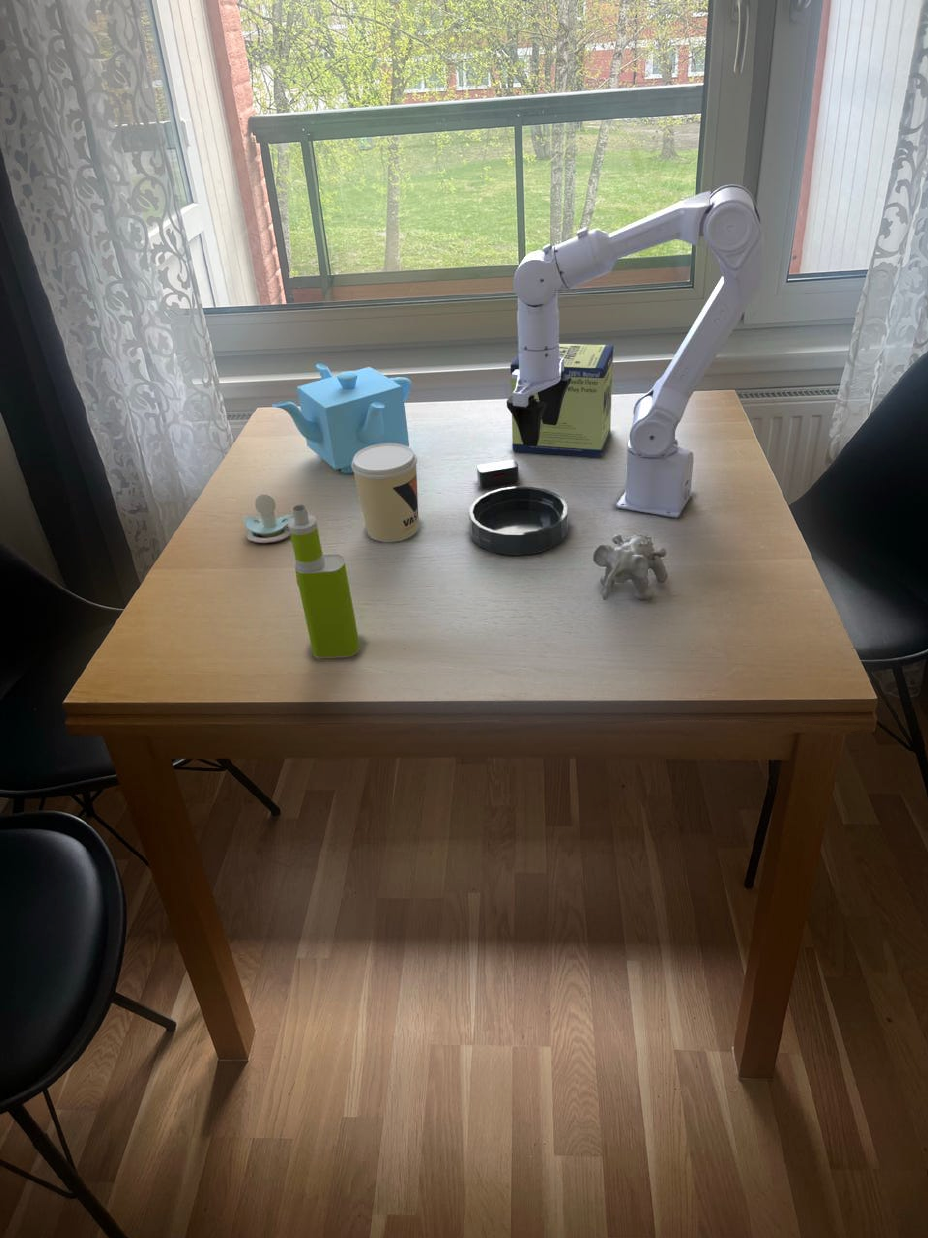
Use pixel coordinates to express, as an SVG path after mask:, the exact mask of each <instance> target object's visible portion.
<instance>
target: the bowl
mask: <svg viewBox="0 0 928 1238" xmlns="http://www.w3.org/2000/svg"><path fill="white" fill-rule="evenodd" d="M468 522H469V532H470V536H471V538H472V539H471V540H472V541H474V543H476V544H477V545H478V546H479V547H481V548H482V549H484V550H486V551H489V552H491V553H495V554H500V555H505V556H525V555H532V554H538V553H542V552H544V551H548V550H550V549H552V548H554V547H555V546H557V545H558V544H561V542H562V541H563V540H564V539H565V537H566V536H567V535H568V529H569V506H568V504H567V502H566V500H565V499H564V498H563V497H562V496H560V495H559V494H557V493H556V492H553V491H551V490H548V489H546V488H543V487H542V488H541V487H535V486H525V485H524V486H523V485H521V486H515V485H514V486H507V487H500V488H498V489H494V490H492V491H488V492H486V493H485V494H482V495H480V496H479V497H477V498H476V499H475V500H474V501H473V503H471V504H470V507H469V511H468Z"/></svg>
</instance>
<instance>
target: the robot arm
mask: <svg viewBox="0 0 928 1238" xmlns="http://www.w3.org/2000/svg"><path fill="white" fill-rule="evenodd" d="M701 237H703V238H704V241H705V243H706V245H707V246H708V248H709V250H710V251H711V252H712V253H713V254H714V256H715V257H716V258H717V260H718V264H719V268H720V271H721V275H722V276H721V277H720V279H719V281H718V282H717V285H716V286H715V288H714V290H713V291H712V293H711V294H710V296H709V298H708V299H707V301H706V302H705V304H704V305H703V307H702V309H701V310H700V312H699V315H698V316H697V318H696V319H695V321H694V323H693V324H692V326H691V328H690V330H689V331H688V333H687V334H686V336H685V337H684V340H683V341H682V343H681V344H680V346H679V348H678V349H677V351H676V353H675V355H674V356H673V358H672V359H671V361H670V362H669V365H668V366H667V368H666V370H665V371H664V373H663V374H662V376H661V377H660V378H658V379H657V380H656V381H655V383H654V385H653V386H652V388H650V390H649V391H648V392H646V393H644V394H643V395H642V396H640V397H639V398H638V400H636V403H635V404H634V407H633V419H632V423H631V428H630V431H629V437H628V438H629V440H628V441H627V450H626V472H625V473H626V475H625V491H624V493H623V494H622V496H621V497H620V498H619V499H618V501H617V502H616V505H615V507H616V508H618V509H623V510H629V511H635V512H640V513H644V514H645V513H646V514H652V515H658V516H664V517H668V518H669V517H670V518H679V517H680V515H681V513H682V511H683V509H684V508H685V507H686V504H687V503H688V501H689V499H690V498H691V496H692V481H693V470H694V451H691V450H688V449H686V448H682V446H679V444H678V443H679V442H678V440H677V439H676V431H677V429H678V426H679V424H680V422H681V421H682V419H683V416H684V414H685V411H686V409H687V406H688V404H689V401H690V399H691V397H692V396H693V394H694V393H695V391H696V389H697V387H698V386H699V385H700V383H701V382H702V380H703V378H704V377H705V375H706V373H707V372H708V370H709V368H710V367H711V365H712V364H713V362H714V361H715V359H716V357H717V356H718V355H719V353H720V351H721V350H722V348H723V347H724V345H725V343H726V342H727V340H728V339H729V337H730V336H731V334H732V332H733V331H734V329H735V327H736V326H737V324H738V323H739V321H740V319H741V318H742V316H743V315H744V313H745V312H746V310H747V309H748V307H749V305H750V303H751V302H752V301H753V299H754V297H755V296H756V295H757V293H758V291H759V289H760V288H761V286H762V284H763V282H764V278H765V277H764V276H765V275H764V267H765V266H764V231H763V229H762V220H761V214H760V212H759V210H758V207H757V204H756V202H755V199H754V196H753V194H752V193H751V192H750V190H749V189H747V188H746V187H744V186H742V185H740V184H733V183H732V184H725V185H722V186H720V187H719V188H717V189H716V190H714V191H713V192H711V190H707V191H704V192H700V193H697V194H695V195H692V196H691V197H689V198H686V199H683V200H681V201H679V202H676V203H674V204H672V205H670V206H668V207H666V208H664V209H661V210H659V211H657V212H655V213H653V214H651V215H648V216H646V217H644V218H642V219H639V220H637V221H636V222H633V223H630V224H628V225H627V226H624V227H622V228H620V229H618V230H616V231H613V232H611V233H608V232H606V231H603V230H601V229H598V228H594V229H592V230H588V228H587V227H583V228H581V229H579V230H577V232H576V236H575V237H573V238H570V239H568V240H566V241H563V242H561V243H559V244H555V245H553V246H552V244H551V243H548V244H546V245H544V246H543V247H542V250H535V251H532V252H530V253H528V254H526V256H524V258H523V259H522V261H521V263H520V264H519V266H518V267H517V269H516V271H515V273H514V276H513V280H512V286H513V292H514V293H515V295H516V297H517V313H516V316H517V347H518V348H517V349H518V353H519V370H515V371H514V372H513V373H512V378H513V379H517V384H516V389H515V391H514V392H513V396H511V395H510V397H509V398H507V400H506V408H507V409H508V411H509V412H510V413H511V416H512V415H513V417H514V419H515V421H516V423H517V426H518V429H519V432H520V436H521V439H522V442H523V445H528V446H537V445H538V441H539V435H540V425H541V420H542V422H543V424H548V425H556V424H557V422H558V419H559V414H560V410H561V405H562V401H563V398H564V395H565V392H566V390H567V387H568V385H569V384H570V382H571V376H570V375H566V374H561V372H563V371H564V358H561V357H559V344H560V310H559V308H558V304H559V303H558V301H559V300H558V291H567V290H570V289H572V288H575V287H577V286H580V285H582V284H585V283H587V282H591V281H592V280H595V279H598V278H600V277H602V276H605V275H608V274H610V273H611V272H612V270H613V269H614V266H615V263H616V261H617V260H619V259H622V258H625V257H628V256H630V255H633V254H636V253H639V252H642V251H645V250H647V249H650V248H653V247H657V246H659V245H662V244H665V243H668V242H671V241H675V240H679V241H682V242H685V243H687V244H689V245H692V246H696V247H699V246H700V238H701ZM535 393H537V394H538V397H539V402H537V401H536V399H534V396H533V395H534V394H535Z"/></svg>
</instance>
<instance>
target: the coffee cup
mask: <svg viewBox="0 0 928 1238" xmlns="http://www.w3.org/2000/svg"><path fill="white" fill-rule="evenodd" d="M417 462H418V458H417V454H416V453H415V452H414V450H413V449H412V448H411V447H410V446H409V447H408V446H405V445H402V444H396V443H383V444H376V445H372V446H369V447H366V448H364V449H362V450H360V451H359V452H357V453H356V454H355V456H354V458H353V461H352V470H353V472H352V473H353V475H354V481H355V485H356V488H357V494H358V498H359V502H360V506H361V510H362V515H363V519H364V523H365V528H366V531H367V534H368V536H369V537H370V538H371V539H372V540H375V541H377V542H380V543H381V542H382V543H397V542H402V541H404V540H407V539H410V538H411V537H413V536H414V535H415V534H416V533H417V532H418V530H419V494H418V474H417V471H418V470H417Z"/></svg>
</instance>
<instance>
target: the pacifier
mask: <svg viewBox="0 0 928 1238" xmlns="http://www.w3.org/2000/svg"><path fill="white" fill-rule="evenodd" d="M254 506H255V509H256V512H258V514H260V516H257V515H256V516H255V515H251V516H250V515H249V516H246V517H245V518H244V520H243V524H244V526H245V527H246V529H247V530H248V531H250V532H249V533H248V534H247V535H246V537H247V540H248V541H250V542H252V543H256V544H257V543H258V544H269V543H276V542H280V541H283V540H285V539H286V538H288V537H290V531H289V529H287V527H288V522H289V520H291V519H292V518H294V516H293V513H289V514H285V515H282V516H280V517H278V518H276V513H275V511H276V507H277V506H276V500H275V499H274V497H273V496H272V495H270V494H268V493H262V494H259V495H258V496H257V497H256V499H255V501H254ZM256 535H259V536H261V537H258V536H256Z"/></svg>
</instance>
